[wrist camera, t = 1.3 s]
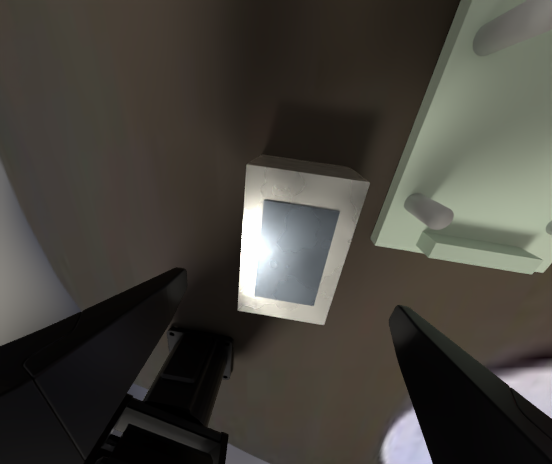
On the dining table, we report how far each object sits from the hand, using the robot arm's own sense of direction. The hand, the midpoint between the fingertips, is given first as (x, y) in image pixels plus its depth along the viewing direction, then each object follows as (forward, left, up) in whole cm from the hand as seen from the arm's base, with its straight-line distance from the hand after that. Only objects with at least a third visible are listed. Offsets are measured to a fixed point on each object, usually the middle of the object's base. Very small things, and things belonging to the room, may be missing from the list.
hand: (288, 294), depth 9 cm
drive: (0, 0, -7) cm, 7 cm away
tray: (+7, -11, -7) cm, 15 cm away
